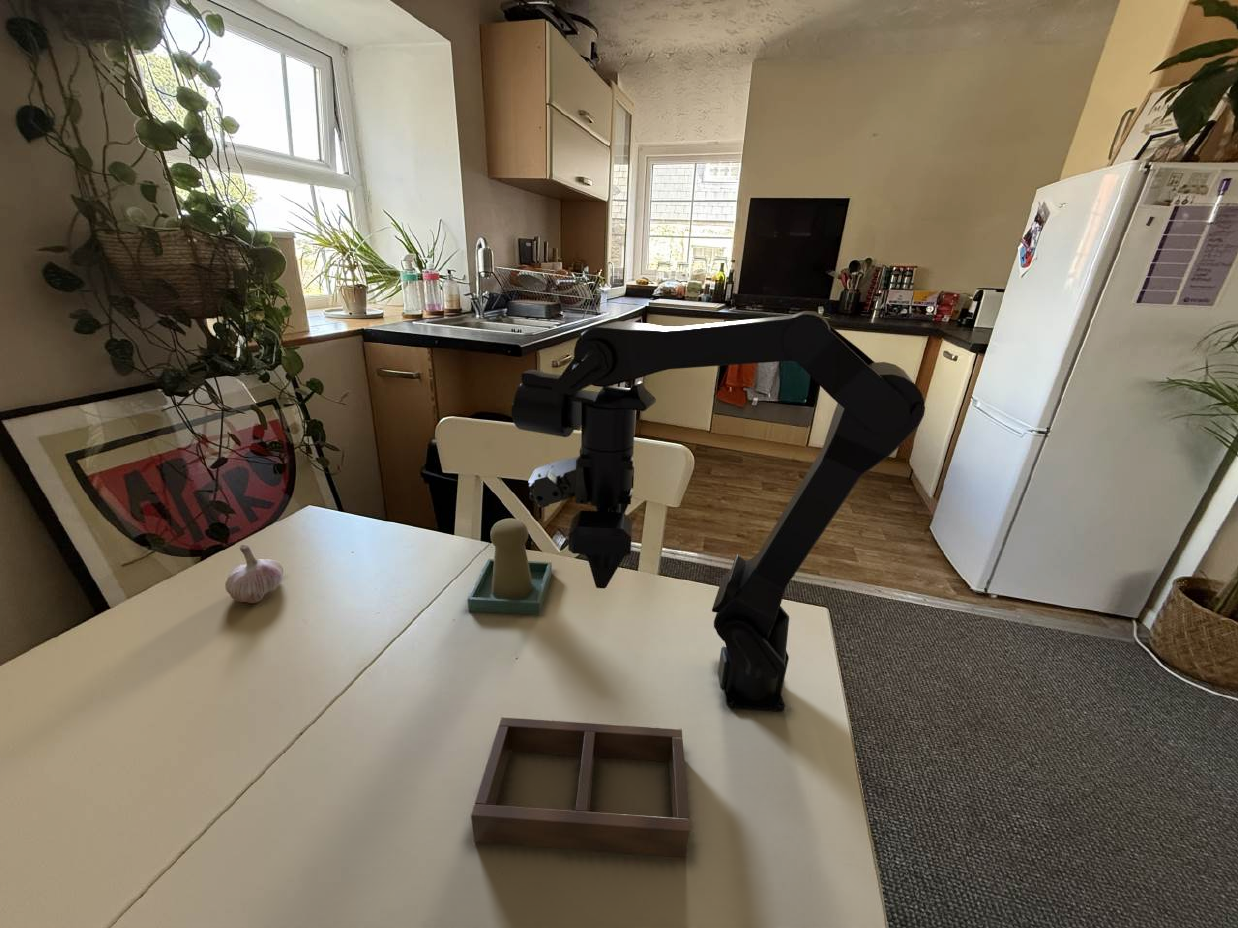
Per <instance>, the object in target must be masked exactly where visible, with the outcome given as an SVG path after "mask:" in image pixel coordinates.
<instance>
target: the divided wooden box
mask: <svg viewBox="0 0 1238 928" xmlns="http://www.w3.org/2000/svg"><path fill="white" fill-rule="evenodd" d="M683 739H684V738H683V730H682V728H673V727H672V728H671V727H656V726H639V725H625V724H609V723H595V722H577V721H565V720H564V721H563V720H548V719H532V718H518V717H517V718H516V717H502V716H501V717H500V720H499V723H498V727H497V729H496V733H495V736H494V740H493V742H492V746H491V749H490V753H489V756H488V758H487V762H486V765H485V769H484V771H483V775H482V779H481V782H480V784H479V788H478V791H477V795H476V797H475V801H474V805H473V807H472V810H471V814H470V818H471V819H470V820H471V827H472V835H473V842H474V843H479V844H480V843H482V844H496V845H509V846H523V847H535V848H537V847H538V848H550V849H564V850H565V849H566V850H579V851H592V852H607V853H619V854H620V853H623V854H634V855H649V856H660V857H661V856H662V857H677V858H687V855H688V850H689V849H688V848H689V841H690V834H691V825H690V815H689V814H690V813H689V812H690V811H689V801H688V789H687V787H688V786H687V776H686V765H685V752H684V740H683ZM511 752H520V753H521V752H522V753H533V754H534V753H535V754H537V753H538V754H550V755H551V754H552V755H564V756H580V757H581V760H580V769H579V777H578V785H577V795H576V801H575V809H574V810H568V809H567V810H566V809H552V808H539V807H538V808H536V807H523V806H511V805H497V801H498V798H499V794H500V791H501V788H502V787H501V786H502V783H503V779H504V775H505V772H506V768H507V764H508V761H509V757H510V754H511ZM595 758H611V759H625V760H641V761H655V762H669V774H670V775H669V778H670V779H669V780H670V795H671V797H670V799H671V815H672V816H671V817H669V816H668V817H667V816H655V815H653V816H652V815H641V814H640V815H639V814H625V813H624V814H623V813H611V812H610V813H609V812H595V811H590V809H591V796H592V788H593V779H594V778H593V776H594V767H595Z"/></svg>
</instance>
